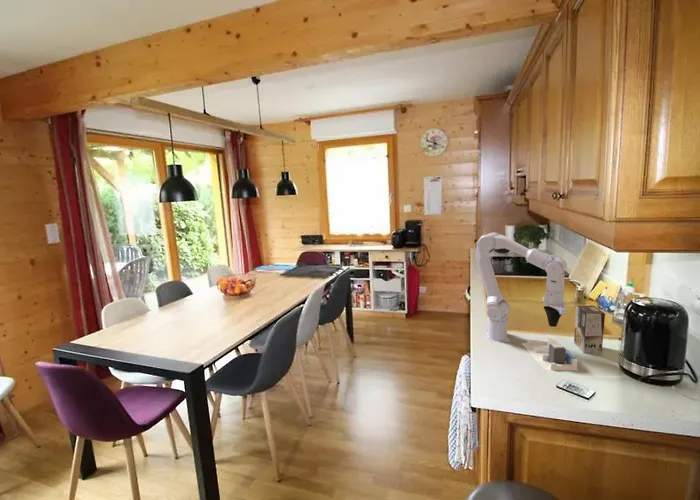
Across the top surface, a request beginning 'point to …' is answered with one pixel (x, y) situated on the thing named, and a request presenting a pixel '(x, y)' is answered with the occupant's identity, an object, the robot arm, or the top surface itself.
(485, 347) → the top surface
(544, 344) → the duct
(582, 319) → the coffee box
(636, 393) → the top surface
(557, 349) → the plug
